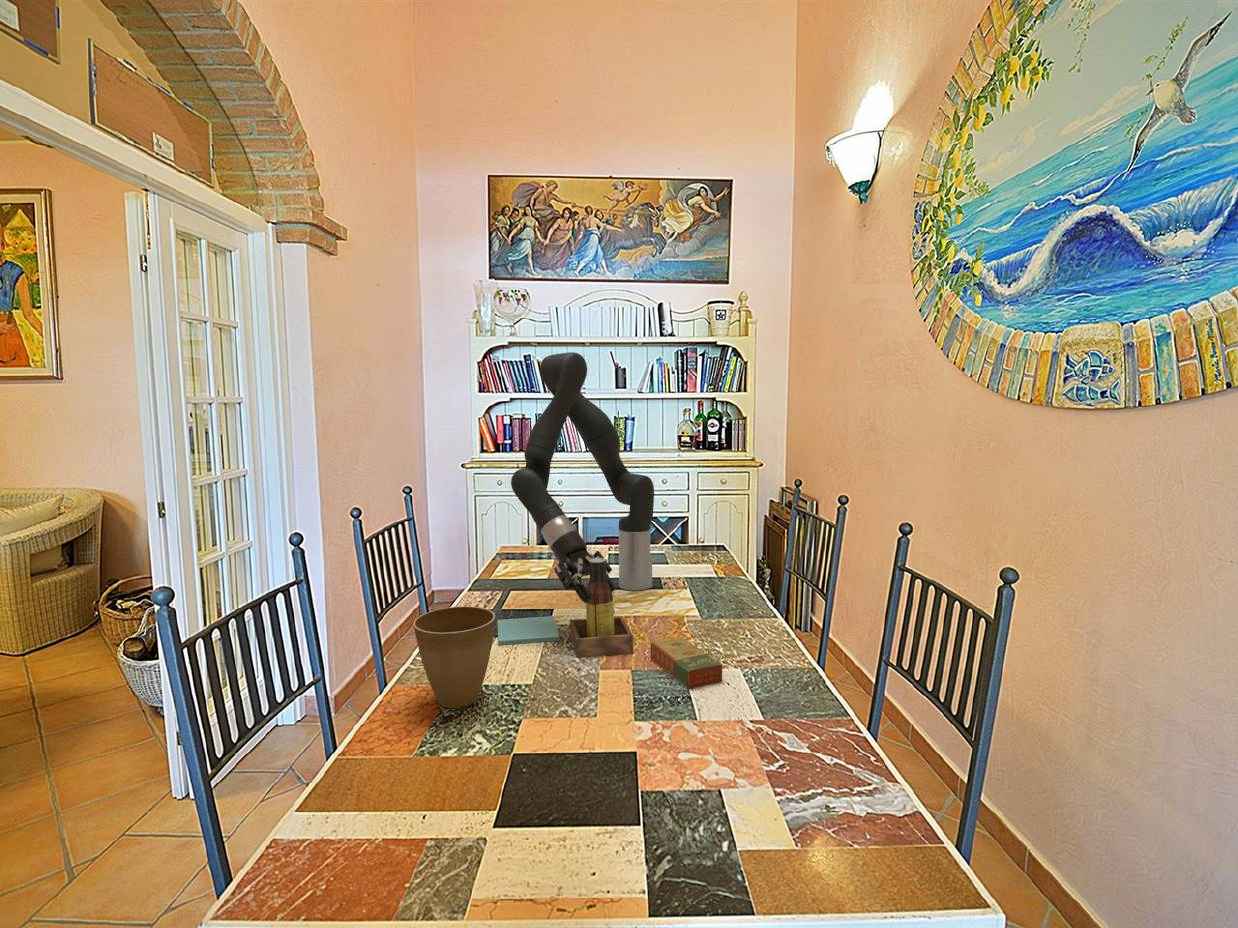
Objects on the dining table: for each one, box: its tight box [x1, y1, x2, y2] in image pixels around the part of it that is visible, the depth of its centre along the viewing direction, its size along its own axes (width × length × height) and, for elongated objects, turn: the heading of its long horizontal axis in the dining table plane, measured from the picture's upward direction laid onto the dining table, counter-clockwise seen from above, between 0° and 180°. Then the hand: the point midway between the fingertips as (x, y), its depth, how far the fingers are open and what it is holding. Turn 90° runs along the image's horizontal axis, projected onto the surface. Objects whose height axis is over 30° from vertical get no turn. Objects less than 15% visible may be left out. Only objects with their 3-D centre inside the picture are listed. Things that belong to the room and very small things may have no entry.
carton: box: [649, 636, 723, 690], centre depth 140 cm, size 8×16×4 cm, turn 25°
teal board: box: [497, 615, 560, 646], centre depth 162 cm, size 14×14×1 cm
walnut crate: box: [569, 615, 634, 658], centre depth 154 cm, size 13×13×4 cm
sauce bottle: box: [585, 558, 616, 638], centre depth 153 cm, size 6×6×20 cm
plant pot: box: [412, 605, 496, 709], centre depth 127 cm, size 15×15×16 cm
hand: (600, 595), depth 152 cm, fingers open, 8 cm apart
